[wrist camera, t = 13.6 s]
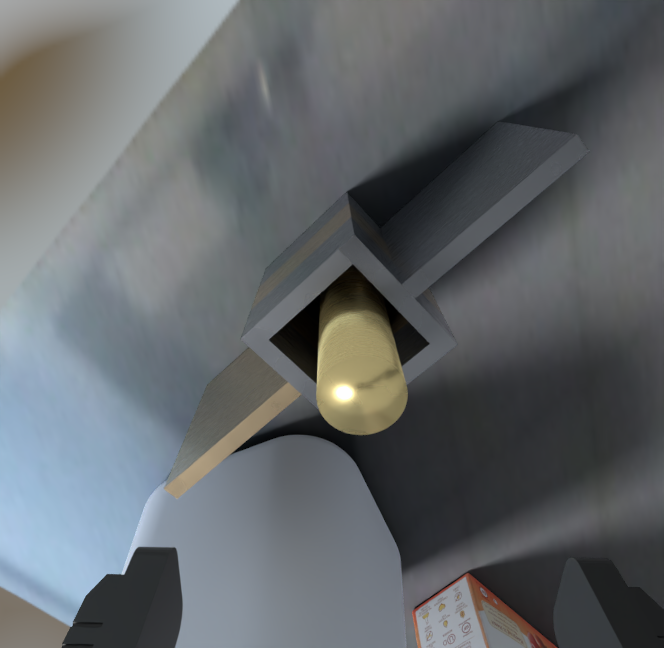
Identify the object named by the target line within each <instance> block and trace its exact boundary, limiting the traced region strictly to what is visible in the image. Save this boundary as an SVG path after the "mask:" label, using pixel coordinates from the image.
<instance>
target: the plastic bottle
mask: <svg viewBox="0 0 664 648" xmlns="http://www.w3.org/2000/svg"><path fill="white" fill-rule="evenodd" d="M167 480H168V479H167ZM167 480H166V481H165V482H163V483H162V484H161V485H160V486H158V487H157V489H156V490H155V491H154V492H153V493H152V494H151V496H150V497H149V499H148V501H147V503H146V505H145V507H144V510H143V513H142V516H141V519H140V522H139V525H138V528H137V530H136V533H135V536H134V539H133V542H132V545H131V548H130V551H129V554H128V557H127V560H126V563H125V566H124V569H123V571H122V574H121V575H124V574H125V572H126V569H127V567H128V565H129V562H130V560H131V558H132V556H133V553H134V551H135V550H136V549H137V548H138V547H175V548H176V550H177V554H178V562H179V571H180V581H181V590H182V599H183V611H182V620H181V626H180V631H179V635H178V639H177V642H176V646H175V648H407V646H406V631H405V616H404V601H403V586H402V571H401V558H400V553H399V550H398V547H397V545H396V543H395V541H394V539H393V537H392V535H391V533H390V531H389V529H388V527H387V525H386V523H385V521H384V519H383V517H382V515H381V513H380V511H379V509H378V507H377V505H376V503H375V501H374V499H373V497H372V495H371V493H370V491H369V489H368V487H367V485H366V483H365V481H364V479H363V477H362V475H361V473H360V471H359V469H358V467H357V465H356V463H355V462H354V461H353V459H352V458H351V457H350V456H349V455H348V454H347V453H346V452H345V451H344V450H342V449H341V448H340V447H338V446H337V445H335V444H333V443H331V442H329V441H327V440H325V439H322V438H319V437H315V436H310V435H287V436H282V437H278V438H274V439H272V440H269V441H266V442H263V443H261V444H258V445H255V446H253V447H250V448H247V449H244V450H242V451H239V452H236V453H233V454H231V455H229V456H228V457H227V458H225V459H224V460H223V461H222V462H221V463H219V464H218V465H217V466H216V467H215V468H213V469H212V470H211V471H210V472H209V473H208V474H206V475H205V476H204V477H203V478H202V479H200V480H199V481H198V482H197V483H196V484H194V485H193V486H192V487H191V488H190V489H189V490H187V491H186V492H185V493H184V494H183V495H181V496H180V497H179V498H178V499H176V498H175V497H174V496H172V495H171V494H170V493H168V492H167V491H166V490H164V487H165V484H166V482H167Z"/></svg>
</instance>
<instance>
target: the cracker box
mask: <svg viewBox="0 0 664 648" xmlns="http://www.w3.org/2000/svg"><path fill="white" fill-rule="evenodd" d="M412 615H413V620H414V626H415V633H416V639H417V644H418V648H557V647H556V646H555V645H554V644H553V643H551V642H550V641H549V640H548V639H547V638H545V637H544V636H543V635H542V634H541V633H539V632H538V631H537V630H536V629H535V628H533V627H532V626H531V625H530V624H529V623H528V622H526V621H525V620H524V619H523V618H522V617H520V616H519V615H518V614H517V613H516V612H514V611H513V610H512V609H511V608H510V607H508V606H507V605H506V604H505V603H504V602H502V601H501V600H500V599H499V598H498V597H497V596H495V595H494V594H493V593H492V592H491V591H489V590H488V589H487V588H486V587H485V586H484V585H482V584H481V583H480V582H479V581H478V580H477V579H475V578H474V577H473V576H472V575H470V574H469V573H466V574H465V575H463V576H462V577H461V578H459V579H458V580H456V581H455V582H454V583H452V584H451V585H449V586H448V587H446V588H445V589H443V590H442V591H440V592H439V593H438V594H436V595H435V596H433V597H432V598H430V599H429V600H427V601H426V602H424V603H423V604H421V605H420V606H419V607H417V608H416V609H414V610H413V611H412Z"/></svg>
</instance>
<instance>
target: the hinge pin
mask: <svg viewBox="0 0 664 648" xmlns="http://www.w3.org/2000/svg"><path fill="white" fill-rule="evenodd" d="M407 398H408V391H407V385H406V381H405V378H404V374H403V370H402V366H401V363H400V359H399V355H398V351H397V348H396V344H395V340H394V337H393V333H392V329H391V325H390V322H389V318H388V314H387V310H386V307H385V303H384V299H383V295H382V294H381V292H380V291H379V290H378V289H377V288H376V287H375V286H374V285H373V284H372V283H371V282H370V281H369V280H368V279H367V278H366V277H365V276H364V275H363V274H362V273H361V272H360V271H359V270H358V269H357V268H356V267H355V266H354V265H353V264H352V265H351V266H350V267H349V268H348V269H347V270H346V271H345V272H343V273H342V274H341V275H340V276H339V277H338V278H337V279H336V280H335V281H333V282H332V283H331V284H330V285H329V286H328V287H327V288H326V289H325V290H323V291H322V292H321V293H320V317H319V342H318V367H317V392H316V399H317V405H318V408H319V411H320V413H321V414H322V416H323V417H324V419H325V420H326V421H327V422H328V423H329V424H330V425H332V426H333V427H334V428H336V429H338V430H340V431H342V432H345V433H348V434H353V435H368V434H374V433H377V432H380V431H382V430H384V429H386V428H388V427H389V426H391V425H392V424H393V423H395V422H396V421H397V420H398V418H399V417H400V416H401V414H402V413H403V411H404V409H405V407H406V404H407Z"/></svg>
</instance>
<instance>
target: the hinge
mask: <svg viewBox="0 0 664 648" xmlns="http://www.w3.org/2000/svg"><path fill="white" fill-rule="evenodd" d="M589 152H590V151H589V150H588V149H587V147H586V146H585V144H584V143H583V142H582V140H581V139H580V138H579V136H578V135H577V134H573V133H567V132H561V131H555V130H549V129H543V128H536V127H530V126H524V125H518V124H512V123H506V122H500V121H498V122H497V123H496V124H495V125H493V126H492V127H491V128H490V129H489V130H488V131H487V132H486V133H485V134H484V135H482V136H481V137H480V138H479V139H478V140H477V141H476V142H475V143H474V144H473V145H471V146H470V147H469V148H468V149H467V150H466V151H465V152H464V153H463V154H461V155H460V156H459V157H458V158H457V159H456V160H455V161H454V162H453V163H452V164H450V165H449V166H448V167H447V168H446V169H445V170H444V171H443V172H442V173H441V174H439V175H438V176H437V177H436V178H435V179H434V180H433V181H432V182H431V183H430V184H428V185H427V186H426V187H425V188H424V189H423V190H422V191H421V192H420V193H418V194H417V195H416V196H415V197H414V198H413V199H412V200H411V201H410V202H409V203H407V204H406V205H405V206H404V207H403V208H402V209H401V210H400V211H399V212H398V213H396V214H395V215H394V216H393V217H392V218H391V219H390V220H389V221H388V222H386V223H385V224H384V225H383V226H382V227H381V228H380V227H379V226H378V225H377V224H376V223H375V222H374V221H373V220H372V219H371V218H370V217H369V215H368V214H367V213H366V212H365V211H364V210H363V209H362V208H361V207H360V206H359V205H358V204H357V202H356V201H355V200H354V199H353V198H352V197H351V196H350V195H349V194H348V193H347V192H346V193H345V194H344V195H343V196H342V197H341V198H340V199H339V200H338V201H336V202H335V203H334V204H333V205H332V206H331V207H330V208H329V209H328V210H327V211H326V212H325V213H324V214H323V215H322V216H321V217H320V218H319V219H318V220H316V221H315V222H314V223H313V224H312V225H311V226H310V227H309V228H308V229H307V230H306V231H305V232H304V233H303V234H302V235H301V236H300V237H299V238H298V239H296V240H295V241H294V242H293V243H292V244H291V245H290V246H289V247H288V248H287V249H286V250H285V251H284V252H283V253H282V254H281V255H280V256H279V257H278V258H276V259H275V260H274V261H273V262H272V263H271V264H270V265H269V266H268V267H267V268H266V270H265V272H264V275H263V278H262V281H261V283H260V286H259V289H258V292H257V294H256V297H255V300H254V303H253V306H252V308H251V311H250V314H249V317H248V319H247V322H246V325H245V328H244V330H243V333H242V336H241V340H242V341H243V342H244V343H245V344H246V345H247V346H248V347H249V348H247V349H246V350H245V351H244V352H243V353H242V354H241V355H240V356H239V357H238V358H236V359H235V360H234V361H233V362H232V363H231V364H230V365H229V366H228V367H226V368H225V369H224V370H223V371H222V372H221V373H220V374H219V375H218V376H217V377H215V378H214V379H213V380H212V381H211V382H210V383H209V384H208V385H207V387H206V389H205V391H204V394H203V396H202V399H201V401H200V403H199V406H198V408H197V410H196V413H195V415H194V418H193V420H192V422H191V425H190V427H189V430H188V432H187V434H186V437H185V439H184V441H183V444H182V446H181V449H180V451H179V453H178V456H177V458H176V461H175V463H174V465H173V468H172V470H171V473H170V475H169V477H168V480H167V482H166V484H165V487H164V490H166V491H167V492H168V493H170V494H171V495H172V496H174V497H175V498H176V499H178V498H179V497H180V496H181V495H183V494H184V493H185V492H186V491H187V490H189V489H190V488H191V487H192V486H193V485H194V484H196V483H197V482H198V481H199V480H200V479H202V478H203V477H204V476H205V475H206V474H208V473H209V472H210V471H211V470H212V469H213V468H215V467H216V466H217V465H218V464H219V463H221V462H222V461H223V460H224V459H225V458H227V457H228V456H229V455H230V454H231V453H232V452H234V451H235V450H236V449H237V448H238V447H240V446H241V445H242V444H243V443H244V442H246V441H247V440H248V439H249V438H250V437H251V436H253V435H254V434H255V433H256V432H257V431H259V430H260V429H261V428H262V427H263V426H265V425H266V424H267V423H268V422H269V421H270V420H272V419H273V418H274V417H275V416H276V415H278V414H279V413H280V412H281V411H282V410H284V409H285V408H286V407H287V406H288V405H289V404H291V403H292V402H293V401H294V400H295V399H297V398H298V397H299V396H300V395H301V394H302V395H303V396H304V397H305V398H306V399H307V400H308V401H310V402H311V403H312V404H313V405H314V406H315V407H316V408H317V409H318V410H319V408H318V405H317V399H316V392H317V367H318V342H319V317H320V302H319V301H318V300H317V299H316V297H317V296H318V295H319V294H320V293H321V292H322V291H323V290H325V289H326V288H327V287H328V286H329V285H330V284H331V283H332V282H333V281H335V280H336V279H337V278H338V277H339V276H340V275H341V274H342V273H343V272H345V271H346V270H347V269H348V268H349V267H350V266H351V265H352V264H353V265H354V266H355V267H356V268H357V269H358V270H359V271H360V272H361V273H362V274H363V275H364V276H365V277H366V278H367V279H368V280H369V281H370V282H371V283H372V284H373V285H374V286H375V287H376V288H377V289H378V290H379V291H380V292H381V294H382V295H383V299H384V303H385V307H386V310H387V314H388V318H389V322H390V325H391V329H392V333H393V337H394V340H395V344H396V348H397V351H398V355H399V359H400V363H401V366H402V370H403V374H404V378H405V381H406V385H407V384H409V383H410V382H411V381H412V380H414V379H415V378H416V377H418V376H419V375H420V374H421V373H423V372H424V371H425V370H426V369H428V368H429V367H430V366H431V365H433V364H434V363H435V362H436V361H438V360H439V359H440V358H441V357H443V356H444V355H445V354H447V353H448V352H449V351H450V350H452V349H453V348H454V347H455V346H457V345H458V344H457V342H456V340H455V338H454V336H453V334H452V332H451V330H450V328H449V326H448V324H447V322H446V320H445V318H444V316H443V314H442V312H441V310H440V309H439V307H438V305H437V303H436V301H435V299H434V297H433V295H432V293H431V291H430V289H429V287H430V286H431V285H432V284H433V283H434V282H436V281H437V280H438V279H439V278H440V277H441V276H443V275H444V274H445V273H446V272H447V271H449V270H450V269H451V268H452V267H453V266H455V265H456V264H457V263H458V262H459V261H460V260H462V259H463V258H464V257H465V256H466V255H468V254H469V253H470V252H471V251H472V250H474V249H475V248H476V247H477V246H478V245H479V244H481V243H482V242H483V241H484V240H485V239H487V238H488V237H489V236H490V235H491V234H493V233H494V232H495V231H496V230H497V229H498V228H500V227H501V226H502V225H503V224H504V223H506V222H507V221H508V220H509V219H510V218H512V217H513V216H514V215H515V214H516V213H517V212H519V211H520V210H521V209H522V208H523V207H525V206H526V205H527V204H528V203H529V202H531V201H532V200H533V199H534V198H535V197H536V196H538V195H539V194H540V193H541V192H542V191H544V190H545V189H546V188H547V187H548V186H550V185H551V184H552V183H553V182H554V181H555V180H557V179H558V178H559V177H560V176H561V175H563V174H564V173H565V172H566V171H567V170H569V169H570V168H571V167H572V166H573V165H575V164H576V163H577V162H578V161H579V160H580V159H582V158H583V157H584V156H585V155H586V154H588V153H589ZM344 433H345V432H344ZM345 434H346V433H345Z"/></svg>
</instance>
